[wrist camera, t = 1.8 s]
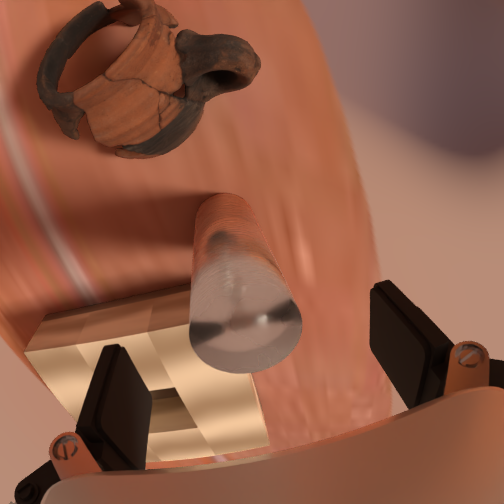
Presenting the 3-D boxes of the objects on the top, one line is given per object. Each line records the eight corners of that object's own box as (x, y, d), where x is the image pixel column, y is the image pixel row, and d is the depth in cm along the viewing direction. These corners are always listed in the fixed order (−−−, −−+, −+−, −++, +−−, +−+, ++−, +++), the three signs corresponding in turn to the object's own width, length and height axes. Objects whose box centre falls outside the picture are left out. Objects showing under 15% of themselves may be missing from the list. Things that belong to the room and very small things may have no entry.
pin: (188, 201, 21) (173, 300, 10) (247, 187, 21) (295, 271, 10) (203, 254, 23) (207, 382, 12) (258, 241, 23) (307, 359, 12)
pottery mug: (98, 180, 20) (10, 149, 12) (110, 68, 20) (48, 14, 12) (275, 152, 18) (250, 78, 10) (263, 31, 18) (239, -56, 10)
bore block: (45, 315, 23) (23, 352, 18) (223, 275, 23) (228, 315, 19) (121, 427, 30) (116, 463, 25) (261, 406, 30) (270, 445, 26)
